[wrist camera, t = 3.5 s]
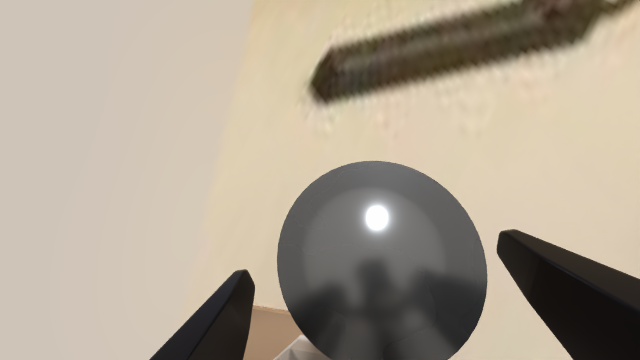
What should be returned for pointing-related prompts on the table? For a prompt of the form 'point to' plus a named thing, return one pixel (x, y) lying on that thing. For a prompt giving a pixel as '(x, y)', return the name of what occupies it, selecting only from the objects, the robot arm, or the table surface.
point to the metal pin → (381, 265)
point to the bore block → (278, 338)
